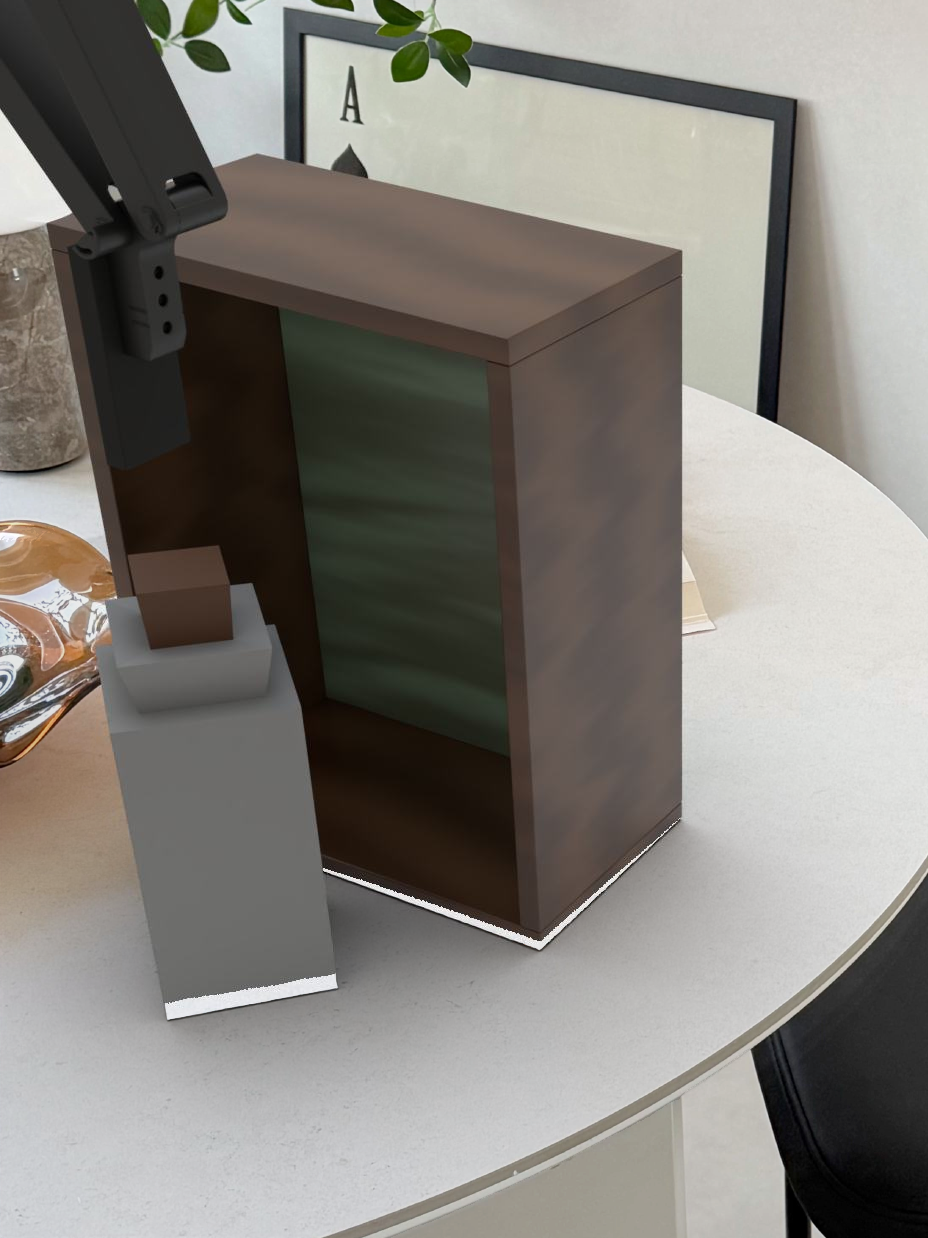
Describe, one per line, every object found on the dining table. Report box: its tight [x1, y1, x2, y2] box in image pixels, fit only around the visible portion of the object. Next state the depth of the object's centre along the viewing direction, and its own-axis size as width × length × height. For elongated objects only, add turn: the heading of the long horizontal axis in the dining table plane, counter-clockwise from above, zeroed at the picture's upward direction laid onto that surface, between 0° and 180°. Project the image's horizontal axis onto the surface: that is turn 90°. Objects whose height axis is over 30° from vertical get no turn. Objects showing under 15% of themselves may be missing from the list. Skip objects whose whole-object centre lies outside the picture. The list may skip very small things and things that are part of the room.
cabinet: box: [45, 153, 683, 941], centre depth 84 cm, size 12×21×27 cm, turn 65°
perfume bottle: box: [94, 545, 337, 1005], centre depth 77 cm, size 7×7×18 cm
